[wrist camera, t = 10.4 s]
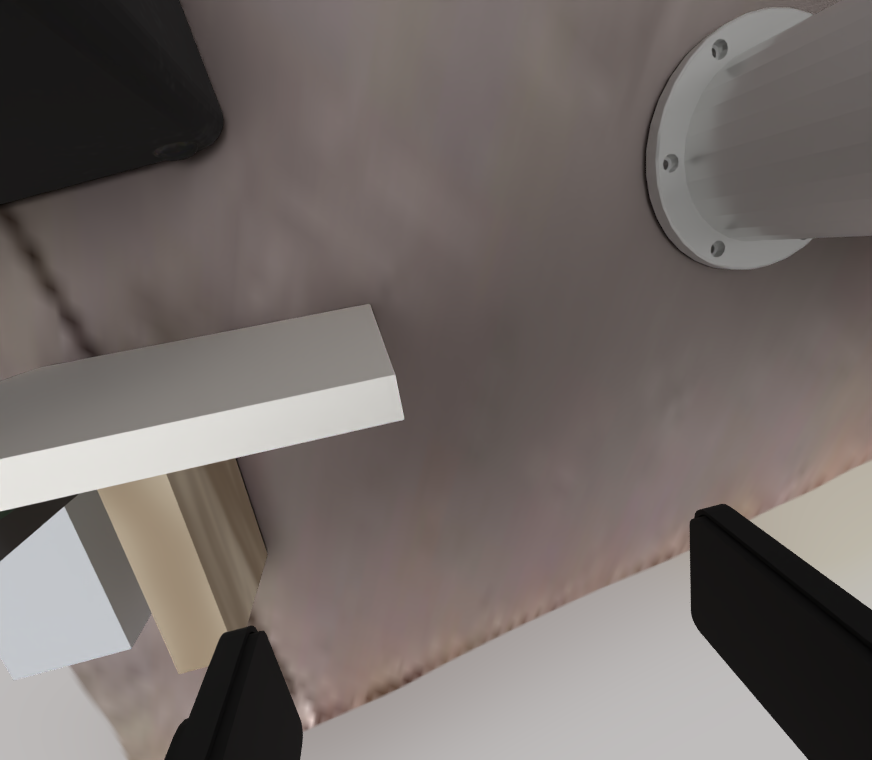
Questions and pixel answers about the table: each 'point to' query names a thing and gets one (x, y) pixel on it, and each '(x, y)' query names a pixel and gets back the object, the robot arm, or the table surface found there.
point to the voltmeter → (97, 91)
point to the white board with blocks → (157, 456)
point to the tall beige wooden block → (177, 551)
